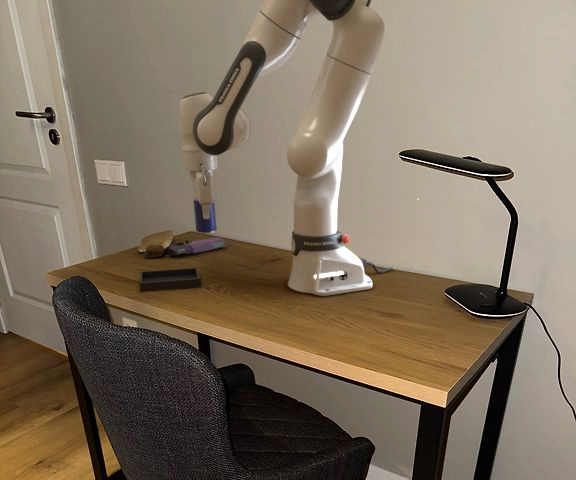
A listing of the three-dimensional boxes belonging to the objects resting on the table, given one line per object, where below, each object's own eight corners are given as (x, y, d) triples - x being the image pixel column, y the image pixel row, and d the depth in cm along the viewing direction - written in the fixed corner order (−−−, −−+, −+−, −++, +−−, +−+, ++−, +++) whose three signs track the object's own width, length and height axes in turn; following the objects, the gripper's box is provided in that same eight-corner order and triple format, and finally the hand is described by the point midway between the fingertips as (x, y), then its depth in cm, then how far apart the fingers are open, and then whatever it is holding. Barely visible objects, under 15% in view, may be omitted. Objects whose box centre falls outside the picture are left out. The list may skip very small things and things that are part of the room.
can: (215, 228, 162) (212, 195, 158) (217, 232, 157) (215, 198, 153) (195, 229, 161) (192, 196, 157) (197, 234, 156) (193, 200, 152)
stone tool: (173, 256, 177) (177, 237, 199) (170, 242, 175) (175, 225, 197) (136, 262, 177) (144, 243, 199) (132, 249, 175) (141, 231, 197)
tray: (197, 275, 162) (197, 267, 161) (201, 287, 153) (200, 278, 152) (140, 279, 159) (139, 271, 158) (140, 291, 150) (139, 283, 149)
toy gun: (208, 243, 194) (226, 249, 188) (158, 253, 182) (175, 259, 176) (208, 231, 193) (226, 236, 186) (157, 240, 181) (174, 246, 174)
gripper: (216, 166, 142) (221, 223, 149) (208, 157, 160) (212, 208, 166) (191, 167, 141) (196, 224, 148) (185, 158, 159) (191, 209, 165)
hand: (205, 216), depth 157 cm, fingers closed on can, 5 cm apart
